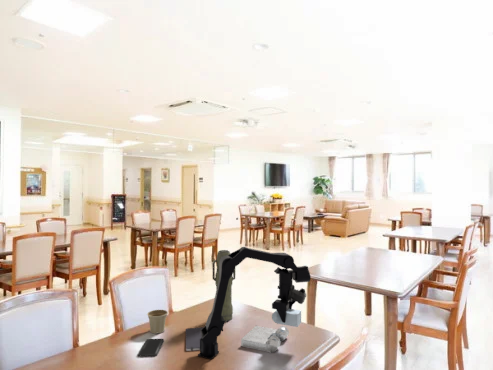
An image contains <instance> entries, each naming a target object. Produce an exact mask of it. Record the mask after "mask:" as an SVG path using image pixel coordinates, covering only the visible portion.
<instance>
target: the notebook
mask: <svg viewBox="0 0 493 370" xmlns="http://www.w3.org/2000/svg"><path fill="white" fill-rule="evenodd" d="M203 327H204V326H203ZM203 327H201V326H200V327H187V328H185V350H186V352H188V351H189V352H193V351H200V339H201V338H202V336H201V332H200V331H201V329H202V328H203Z"/></svg>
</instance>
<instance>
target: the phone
mask: <svg viewBox="0 0 493 370" xmlns="http://www.w3.org/2000/svg"><path fill="white" fill-rule="evenodd" d="M164 342H165V339H164V338H148V339H146V340H145V341H144V343H143V345H142V346H141V348H140V350H139V351H138V353H137V357H138V358H149V357H150V358H152V357H154V358H155V357H158V355H159V353H160V351H161V349H162V346H163V344H164Z"/></svg>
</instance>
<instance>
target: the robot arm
mask: <svg viewBox="0 0 493 370" xmlns="http://www.w3.org/2000/svg"><path fill="white" fill-rule="evenodd" d="M247 258H248V259H252V260H257V261H262V262H268V263H271V264H274V265H276V266H277V268H276V269H274V270H273V271H274V273H275V274H276V275H278V285H277V289H278V294H279V295H277V299H275V300H274V301H273V302H272V303H271V309H273V310H275V311H276V310H277V312H278V314H279V316H280V318H281V320H282V322H283V323H285V321H286V314H287V310H288V309H293V305H294V304H295V303H296V302H297V303H298V304H300V305H302V304H303V303H304V302H305V300H306V297H307V293H306V289H305V288H302V287H301V288H300V289H296V287H295V285H294V284H293V281H294V282H295V283H310V281H311V277H312V276H311V273H310V270H309V266H307V265H303V266H297V265H296V263H295V260H294V257H293V256H292V255H290V254H288V253H287V252H268V251H263V250H260V249H255V248H254V249H253V248H249V247H247V246H241V247H239V249H237V250H235V251H233V252H230V254H229V255H225V256H223V257H221V259H220V262H219V281H218V286H217V290H216V291H215V294H214V295H215V296H214V300H213V303H212V308H211V311H210V313H209V315H208V316H207V317H208V318H207V320H206V321H205V325H204V326H203V328H202V329H201V331H200V332H201V336H202V338H201V339H200V350H199V353H198V354H197V356H198V357H201V358H205V359H209V360H212V359H213V358H215V357H216V356H217V355H218V354H219V353H220V351H219V343H218V337H219V336H221V334H222V332H224V325H225V323H226V322H225V320H224V318H223V316H222V310H223V305H224V301H225V296H226V292H227V287H228V282H229V279H230V278H231V276H232V277H233V272H234V269H235V270H236V268H237V266H239V265H240V264H241V263H243V261H245V260H246V259H247ZM281 267H282V268H281Z"/></svg>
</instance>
